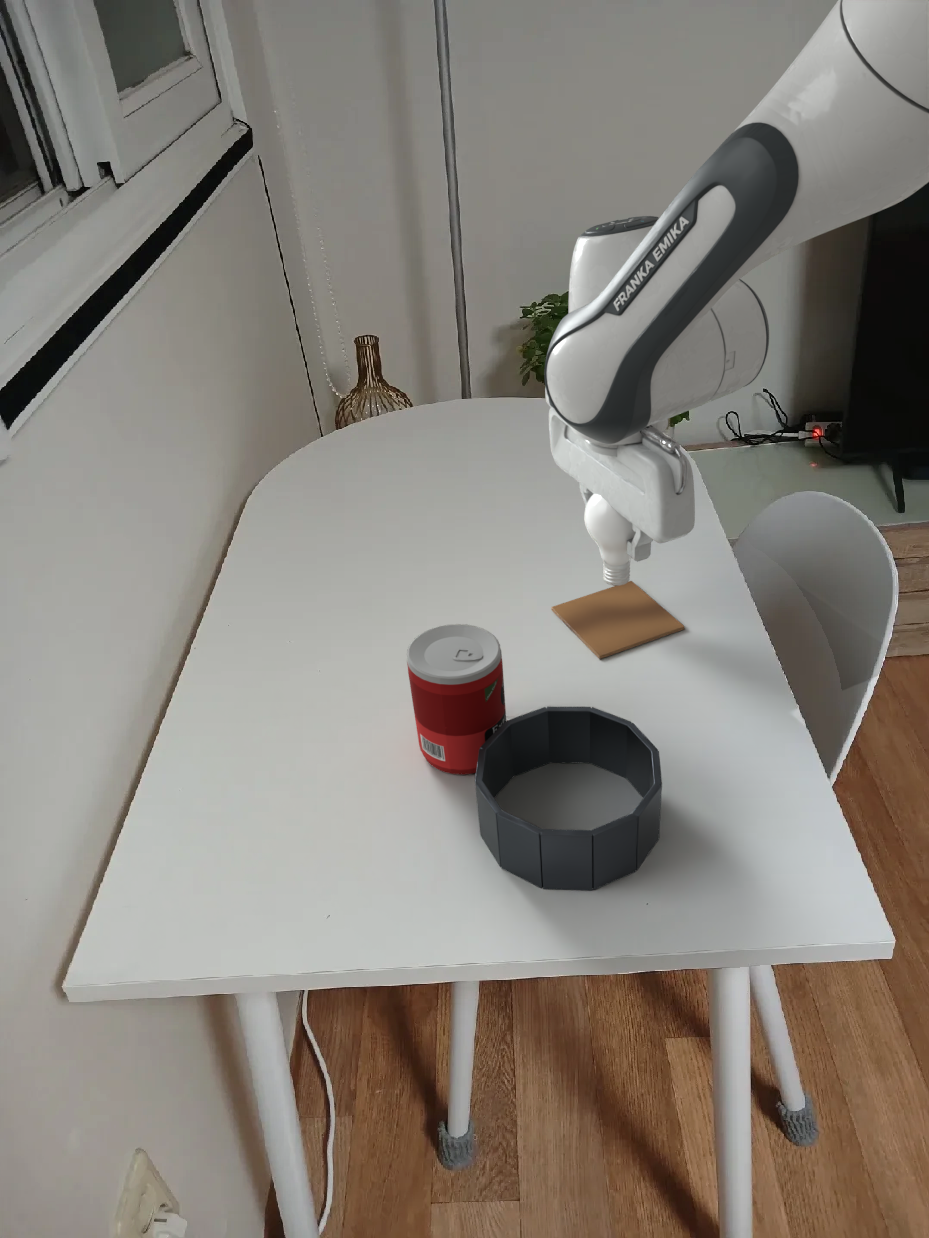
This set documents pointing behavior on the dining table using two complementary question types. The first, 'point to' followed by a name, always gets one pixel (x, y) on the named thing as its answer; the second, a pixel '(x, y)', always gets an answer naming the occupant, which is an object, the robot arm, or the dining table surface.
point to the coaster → (616, 619)
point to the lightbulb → (610, 539)
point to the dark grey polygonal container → (562, 851)
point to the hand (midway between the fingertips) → (617, 539)
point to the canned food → (456, 694)
